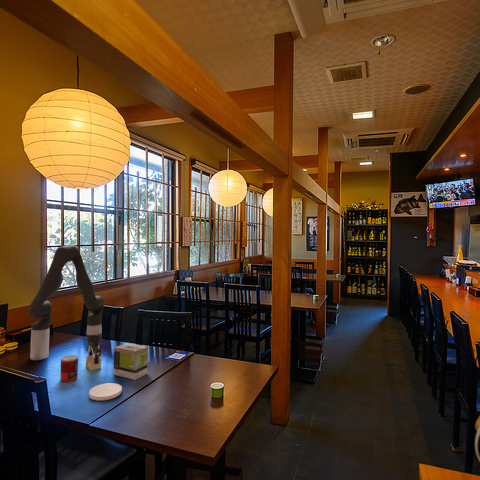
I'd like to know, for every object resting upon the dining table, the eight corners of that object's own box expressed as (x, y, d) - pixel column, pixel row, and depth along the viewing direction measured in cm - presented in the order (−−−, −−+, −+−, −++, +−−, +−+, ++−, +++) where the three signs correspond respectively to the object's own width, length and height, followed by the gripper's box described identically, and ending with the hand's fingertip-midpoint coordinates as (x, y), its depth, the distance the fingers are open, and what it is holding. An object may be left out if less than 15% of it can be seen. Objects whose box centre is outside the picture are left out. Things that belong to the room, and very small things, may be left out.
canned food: (70, 383, 160) (71, 361, 160) (56, 381, 161) (57, 359, 161) (81, 377, 167) (81, 355, 167) (67, 375, 169) (68, 354, 169)
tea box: (147, 373, 174) (148, 346, 174) (134, 380, 165) (135, 351, 165) (126, 368, 180) (127, 341, 181) (112, 374, 171) (113, 346, 171)
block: (85, 367, 181) (86, 356, 181) (96, 364, 185) (97, 354, 185) (89, 370, 176) (90, 359, 176) (100, 367, 181) (101, 356, 181)
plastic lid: (124, 398, 147) (124, 393, 147) (90, 405, 140) (90, 399, 140) (118, 386, 159) (119, 381, 159) (87, 391, 152) (87, 386, 152)
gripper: (82, 331, 183) (81, 360, 183) (92, 336, 173) (91, 367, 172) (96, 328, 188) (95, 357, 188) (106, 334, 178) (105, 363, 178)
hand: (93, 361), depth 180 cm, fingers open, 8 cm apart
